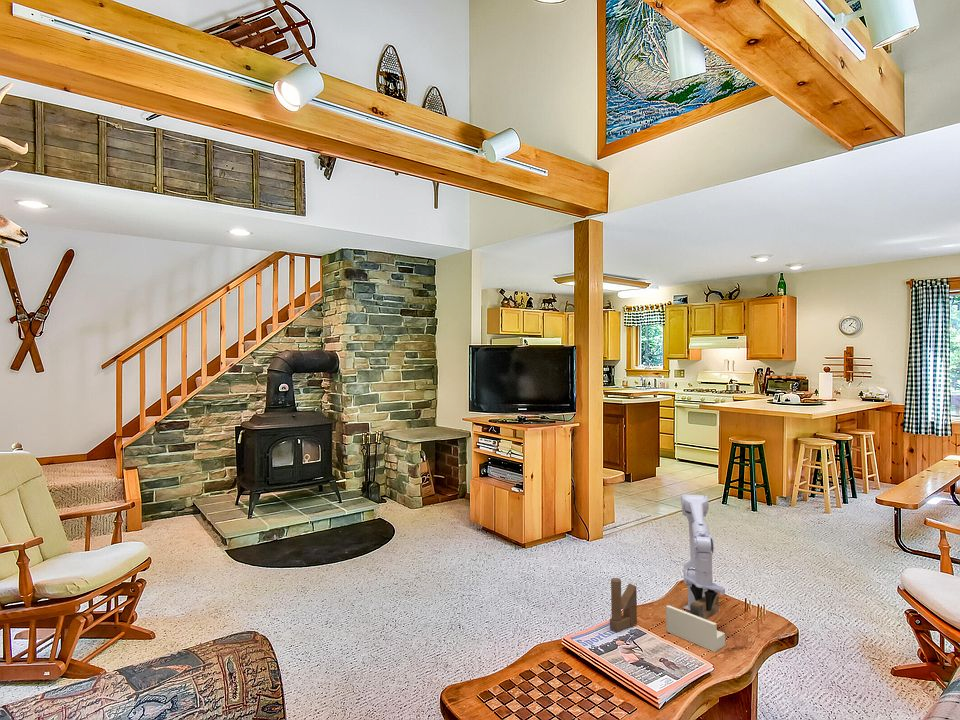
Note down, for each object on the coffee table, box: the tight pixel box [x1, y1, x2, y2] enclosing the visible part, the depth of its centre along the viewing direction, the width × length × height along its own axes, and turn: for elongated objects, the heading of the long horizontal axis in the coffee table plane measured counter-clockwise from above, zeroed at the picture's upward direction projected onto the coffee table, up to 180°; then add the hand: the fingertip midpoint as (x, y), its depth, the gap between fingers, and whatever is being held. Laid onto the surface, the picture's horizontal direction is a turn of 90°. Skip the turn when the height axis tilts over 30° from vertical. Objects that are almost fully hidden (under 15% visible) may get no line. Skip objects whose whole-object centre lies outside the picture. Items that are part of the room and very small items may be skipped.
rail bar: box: [689, 594, 720, 620], centre depth 189 cm, size 14×3×6 cm, turn 128°
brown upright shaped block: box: [609, 577, 638, 633], centre depth 194 cm, size 4×11×18 cm, turn 122°
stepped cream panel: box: [665, 604, 726, 653], centre depth 185 cm, size 7×18×9 cm, turn 38°
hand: (704, 608), depth 189 cm, fingers closed on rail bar, 3 cm apart
